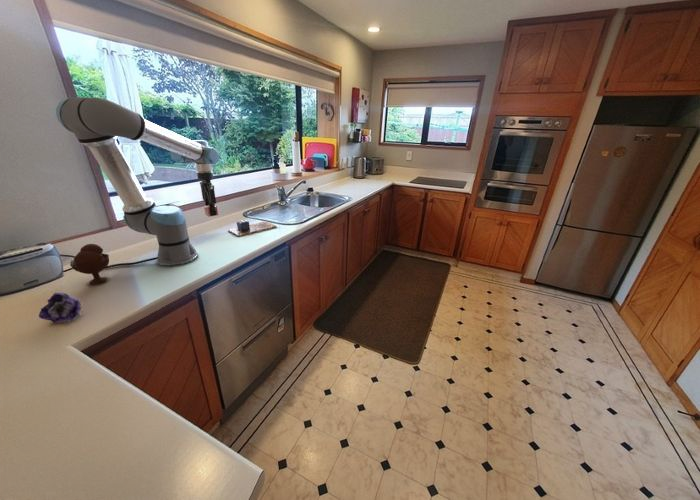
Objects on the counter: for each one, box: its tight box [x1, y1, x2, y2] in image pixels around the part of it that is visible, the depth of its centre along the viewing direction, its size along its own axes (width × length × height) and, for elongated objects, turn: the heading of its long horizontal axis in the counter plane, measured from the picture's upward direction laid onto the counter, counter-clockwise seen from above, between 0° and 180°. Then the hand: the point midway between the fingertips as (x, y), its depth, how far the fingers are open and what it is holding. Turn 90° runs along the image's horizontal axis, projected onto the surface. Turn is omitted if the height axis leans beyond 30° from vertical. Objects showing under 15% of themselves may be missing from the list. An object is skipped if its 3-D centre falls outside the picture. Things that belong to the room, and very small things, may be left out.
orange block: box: [203, 205, 219, 217], centre depth 156 cm, size 5×5×5 cm
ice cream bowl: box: [69, 243, 110, 287], centre depth 103 cm, size 11×11×15 cm
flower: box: [38, 292, 82, 324], centre depth 86 cm, size 9×9×10 cm
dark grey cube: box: [236, 219, 250, 232], centre depth 159 cm, size 5×5×5 cm
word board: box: [228, 220, 277, 238], centre depth 164 cm, size 24×12×1 cm, turn 135°
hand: (211, 214), depth 156 cm, fingers closed on orange block, 5 cm apart
